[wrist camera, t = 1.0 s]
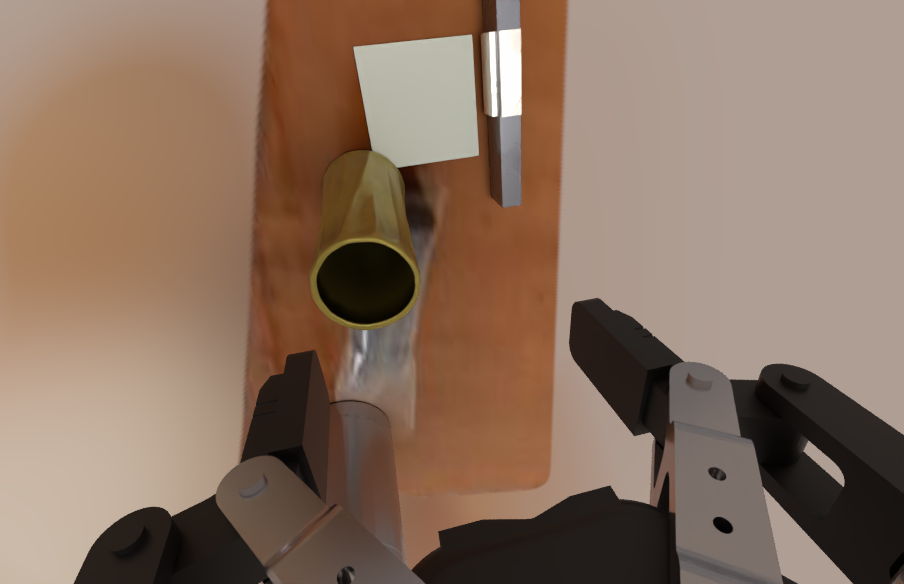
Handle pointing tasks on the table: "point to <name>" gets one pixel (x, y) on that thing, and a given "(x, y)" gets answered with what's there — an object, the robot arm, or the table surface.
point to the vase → (364, 244)
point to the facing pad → (420, 99)
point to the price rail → (503, 97)
